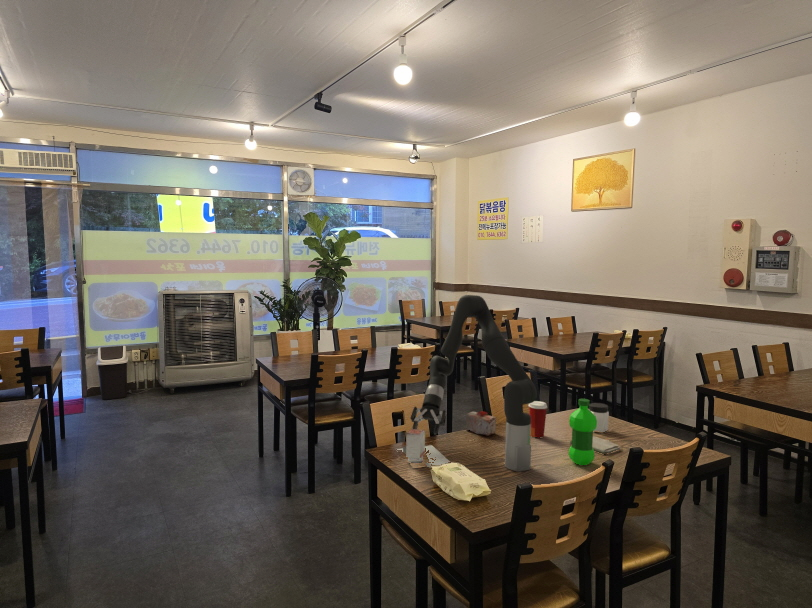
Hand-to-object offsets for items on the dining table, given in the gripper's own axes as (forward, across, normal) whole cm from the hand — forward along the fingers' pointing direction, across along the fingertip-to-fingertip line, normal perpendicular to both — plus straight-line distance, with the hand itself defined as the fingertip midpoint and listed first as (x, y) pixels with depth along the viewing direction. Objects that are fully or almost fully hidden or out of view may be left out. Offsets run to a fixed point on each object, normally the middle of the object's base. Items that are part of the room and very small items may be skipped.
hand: (424, 432), depth 216 cm
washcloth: (-18, +65, +30) cm, 74 cm away
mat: (+10, +1, +2) cm, 10 cm away
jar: (-35, +66, +47) cm, 88 cm away
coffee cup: (-21, +40, +33) cm, 57 cm away
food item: (-18, +16, +30) cm, 39 cm away
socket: (+12, 0, -4) cm, 12 cm away
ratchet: (+11, -2, 0) cm, 11 cm away
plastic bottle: (-3, +60, +15) cm, 62 cm away
